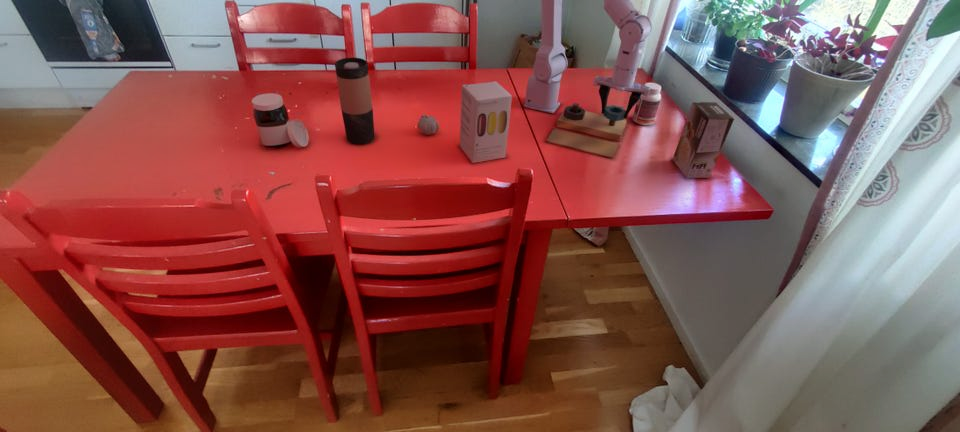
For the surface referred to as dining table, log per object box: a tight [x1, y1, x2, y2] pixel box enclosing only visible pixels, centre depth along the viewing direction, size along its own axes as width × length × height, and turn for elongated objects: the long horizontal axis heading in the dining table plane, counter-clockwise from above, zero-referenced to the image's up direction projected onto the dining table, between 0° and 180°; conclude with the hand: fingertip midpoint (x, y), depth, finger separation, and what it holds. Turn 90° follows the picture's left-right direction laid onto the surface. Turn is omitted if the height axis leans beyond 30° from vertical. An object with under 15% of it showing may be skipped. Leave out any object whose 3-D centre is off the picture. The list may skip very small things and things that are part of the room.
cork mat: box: [545, 128, 619, 159], centre depth 124 cm, size 18×8×1 cm, turn 66°
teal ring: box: [602, 105, 627, 121], centre depth 127 cm, size 6×6×2 cm
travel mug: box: [334, 57, 375, 146], centre depth 114 cm, size 8×8×20 cm
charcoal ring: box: [563, 105, 586, 121], centre depth 132 cm, size 6×6×2 cm
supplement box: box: [459, 80, 513, 164], centre depth 113 cm, size 10×9×17 cm
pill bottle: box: [632, 82, 662, 126], centre depth 133 cm, size 6×6×11 cm
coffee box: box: [672, 101, 735, 179], centre depth 112 cm, size 9×6×16 cm
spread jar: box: [251, 92, 310, 150], centre depth 113 cm, size 12×11×12 cm
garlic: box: [417, 114, 440, 136], centre depth 123 cm, size 6×5×5 cm
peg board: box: [555, 102, 628, 142], centre depth 130 cm, size 18×10×6 cm, turn 66°
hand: (614, 114), depth 127 cm, fingers closed on teal ring, 5 cm apart
